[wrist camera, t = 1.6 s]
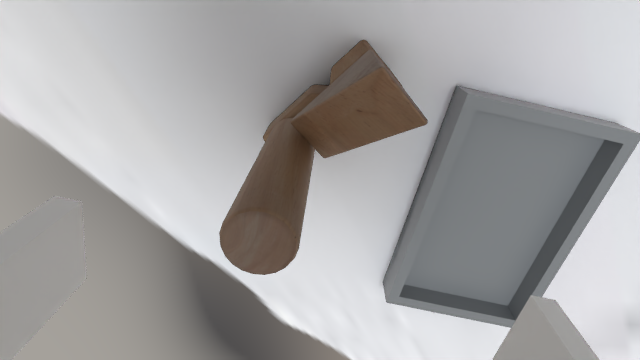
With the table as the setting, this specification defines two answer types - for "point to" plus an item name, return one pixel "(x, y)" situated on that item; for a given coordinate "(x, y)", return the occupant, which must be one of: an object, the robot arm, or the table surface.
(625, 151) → the tray
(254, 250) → the brown tapered wooden part
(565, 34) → the table surface
